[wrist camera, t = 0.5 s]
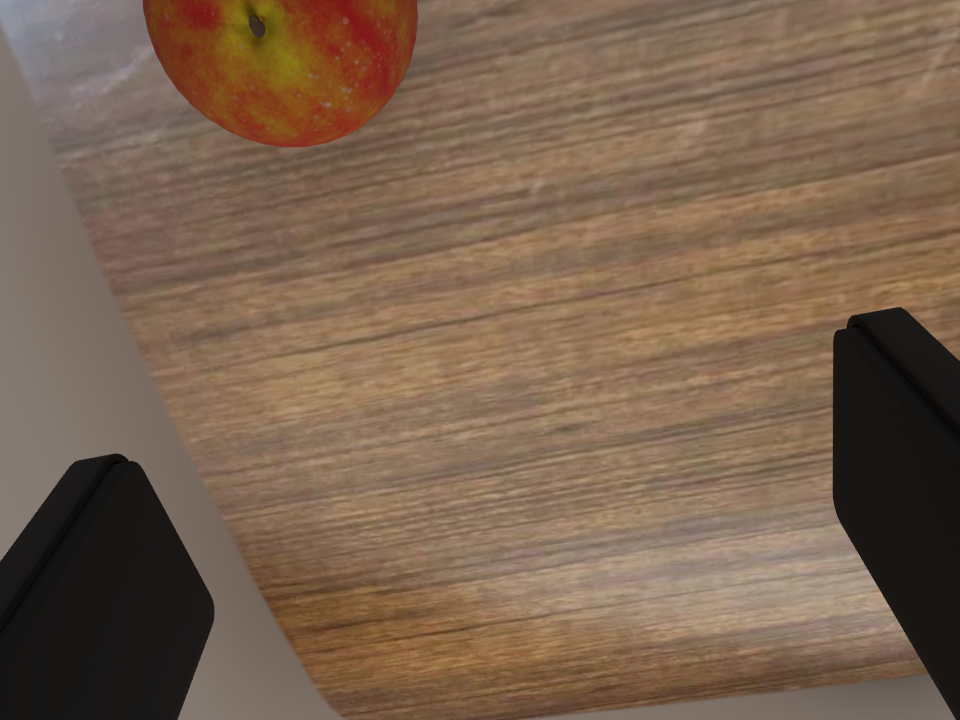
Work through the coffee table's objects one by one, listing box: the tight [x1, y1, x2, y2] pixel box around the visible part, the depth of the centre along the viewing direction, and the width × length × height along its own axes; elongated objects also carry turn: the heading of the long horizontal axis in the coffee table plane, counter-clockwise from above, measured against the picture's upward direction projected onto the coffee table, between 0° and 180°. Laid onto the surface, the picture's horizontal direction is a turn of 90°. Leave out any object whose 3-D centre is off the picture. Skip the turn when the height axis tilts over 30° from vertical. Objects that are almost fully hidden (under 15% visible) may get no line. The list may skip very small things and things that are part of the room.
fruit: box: [143, 0, 418, 147], centre depth 21 cm, size 7×7×8 cm
